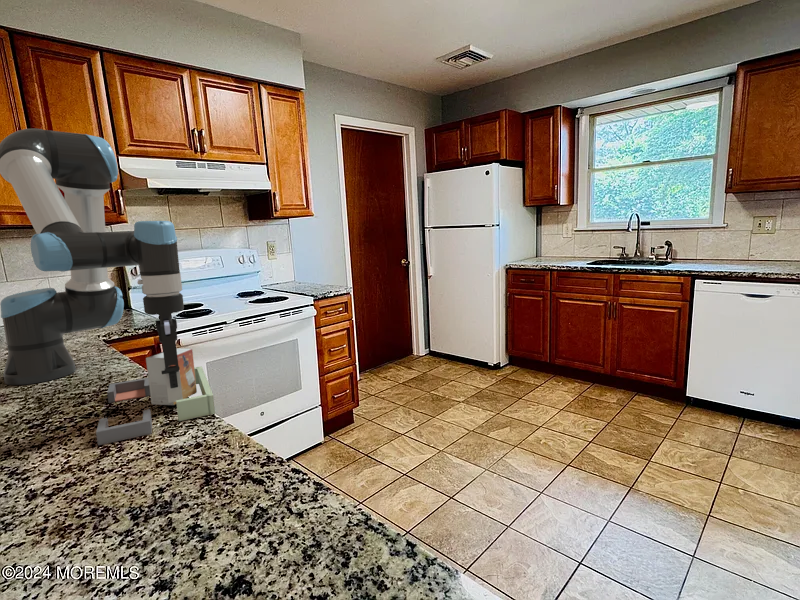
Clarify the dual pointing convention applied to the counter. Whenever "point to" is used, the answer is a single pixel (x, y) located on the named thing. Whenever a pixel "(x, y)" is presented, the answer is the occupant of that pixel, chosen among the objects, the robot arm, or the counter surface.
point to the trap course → (141, 389)
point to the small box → (159, 380)
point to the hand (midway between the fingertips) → (174, 393)
